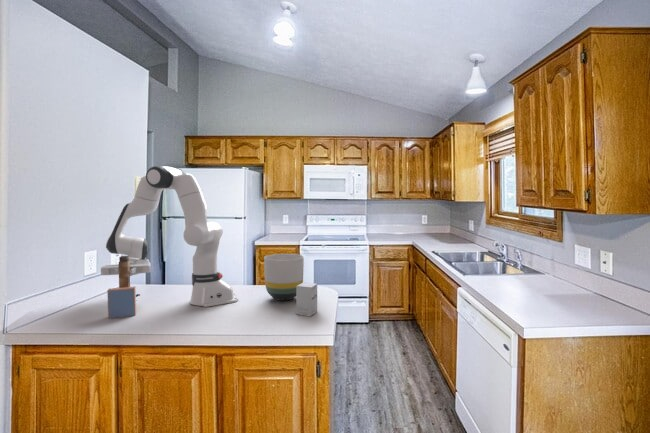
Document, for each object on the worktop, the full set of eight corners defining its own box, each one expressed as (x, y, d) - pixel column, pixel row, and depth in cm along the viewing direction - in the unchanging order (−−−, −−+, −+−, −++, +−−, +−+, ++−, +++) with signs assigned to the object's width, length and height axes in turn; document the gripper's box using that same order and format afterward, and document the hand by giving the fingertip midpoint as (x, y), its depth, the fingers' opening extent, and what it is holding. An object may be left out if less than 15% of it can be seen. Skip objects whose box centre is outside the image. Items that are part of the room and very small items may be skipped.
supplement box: (311, 316, 147) (311, 287, 146) (295, 314, 149) (295, 285, 149) (317, 311, 154) (317, 283, 153) (302, 309, 156) (302, 281, 156)
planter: (298, 292, 185) (298, 252, 184) (308, 302, 166) (308, 258, 165) (262, 295, 179) (261, 254, 178) (267, 306, 160) (267, 261, 159)
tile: (136, 313, 151) (135, 286, 150) (135, 315, 148) (134, 288, 147) (109, 316, 147) (108, 288, 146) (108, 318, 144) (107, 290, 143)
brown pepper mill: (130, 287, 158) (129, 255, 157) (128, 290, 153) (127, 257, 152) (121, 288, 156) (120, 255, 155) (119, 291, 152) (118, 257, 151)
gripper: (103, 261, 162) (96, 266, 149) (152, 258, 170) (149, 264, 157) (104, 274, 163) (96, 281, 150) (152, 271, 170) (149, 277, 157)
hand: (124, 272), depth 153 cm, fingers closed on brown pepper mill, 3 cm apart
